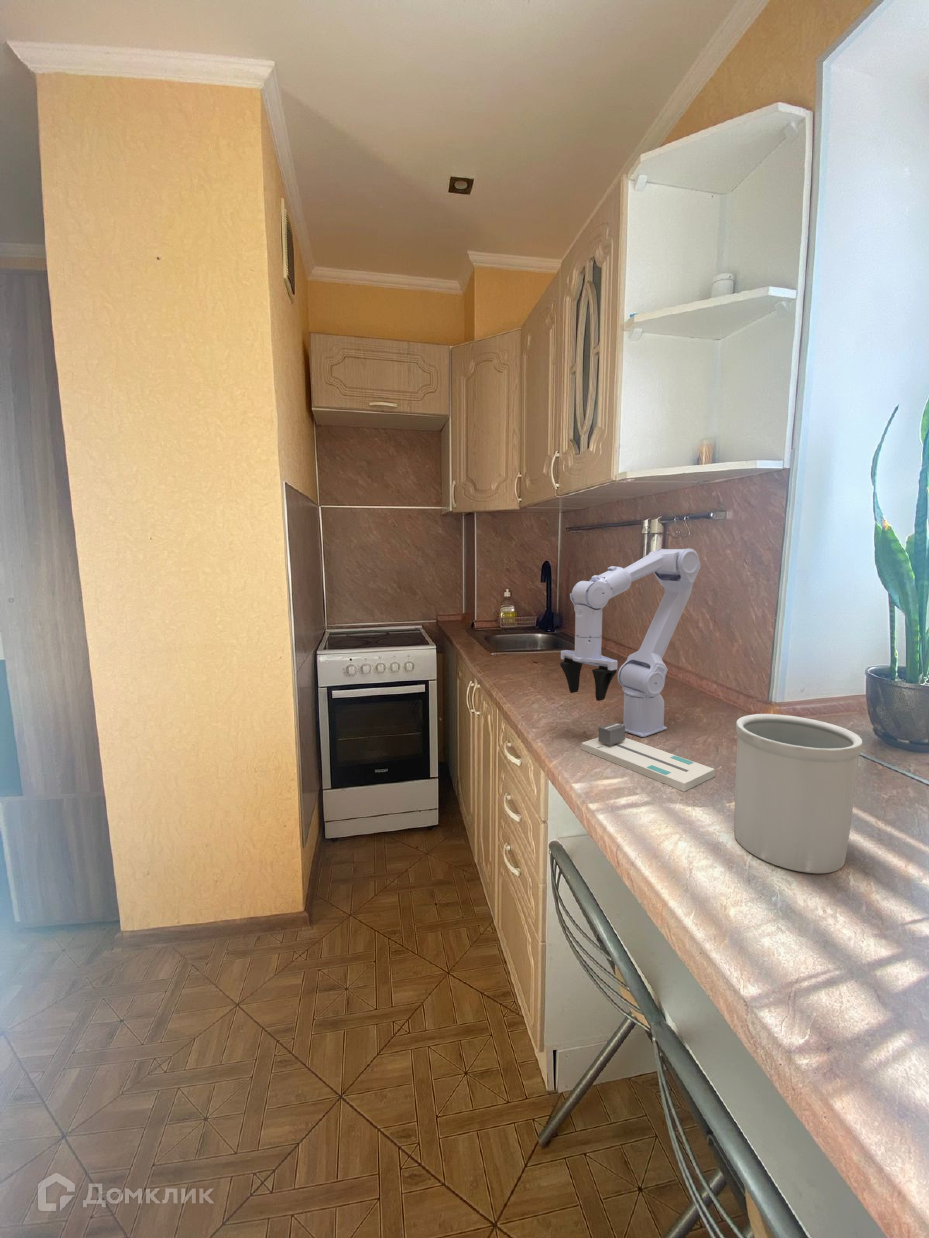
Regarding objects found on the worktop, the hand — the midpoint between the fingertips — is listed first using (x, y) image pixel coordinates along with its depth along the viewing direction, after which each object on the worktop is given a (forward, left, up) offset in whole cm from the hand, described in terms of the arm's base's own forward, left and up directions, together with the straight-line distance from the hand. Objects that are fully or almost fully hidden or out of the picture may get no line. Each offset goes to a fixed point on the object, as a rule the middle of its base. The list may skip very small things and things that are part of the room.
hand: (586, 695), depth 113 cm
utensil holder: (+8, +45, -11) cm, 47 cm away
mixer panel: (0, +15, -10) cm, 18 cm away
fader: (0, +7, -8) cm, 11 cm away
